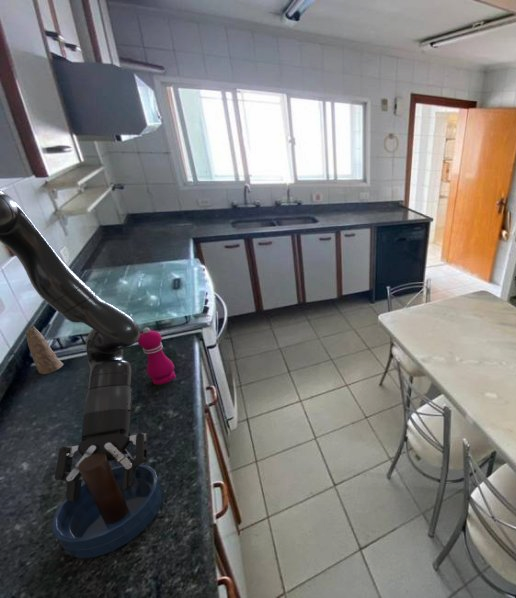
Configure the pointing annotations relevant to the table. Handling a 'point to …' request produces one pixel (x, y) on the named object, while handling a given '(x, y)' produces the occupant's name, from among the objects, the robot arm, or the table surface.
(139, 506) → the bowl
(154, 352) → the pepper mill
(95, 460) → the brown cylinder
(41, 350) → the tan tapered cone
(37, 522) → the table surface
